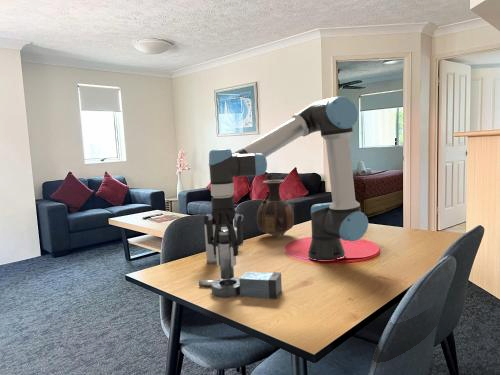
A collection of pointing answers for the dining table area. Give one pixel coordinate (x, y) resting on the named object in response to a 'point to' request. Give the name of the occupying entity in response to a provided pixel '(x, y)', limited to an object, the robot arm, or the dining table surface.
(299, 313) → the dining table surface
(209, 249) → the travel mug
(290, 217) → the vase
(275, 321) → the dining table surface
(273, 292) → the grey machined bracket
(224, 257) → the grey capped bottle
